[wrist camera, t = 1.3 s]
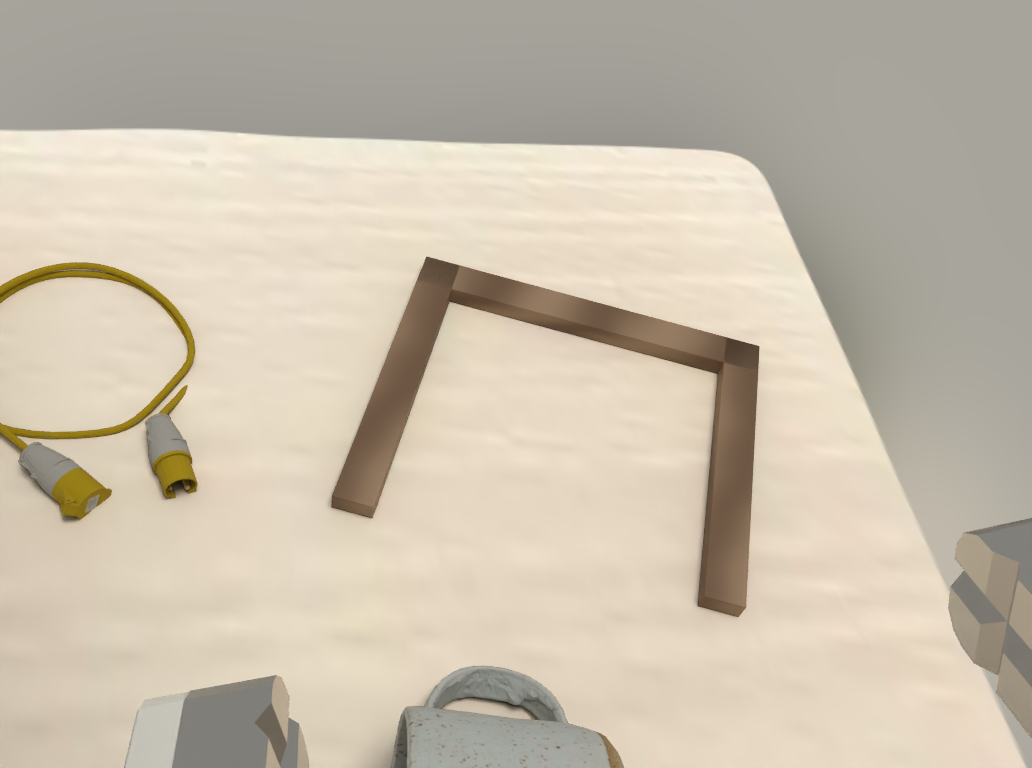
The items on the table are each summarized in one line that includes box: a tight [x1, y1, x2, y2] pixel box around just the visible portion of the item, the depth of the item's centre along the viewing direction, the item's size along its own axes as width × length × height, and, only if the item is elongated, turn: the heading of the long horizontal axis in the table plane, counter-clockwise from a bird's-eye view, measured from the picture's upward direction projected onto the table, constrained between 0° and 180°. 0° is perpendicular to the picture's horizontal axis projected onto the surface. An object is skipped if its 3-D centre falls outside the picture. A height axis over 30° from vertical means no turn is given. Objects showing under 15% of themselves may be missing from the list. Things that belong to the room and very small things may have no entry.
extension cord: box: [0, 263, 197, 519], centre depth 47 cm, size 12×16×2 cm
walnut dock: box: [332, 257, 759, 617], centre depth 51 cm, size 20×17×1 cm
